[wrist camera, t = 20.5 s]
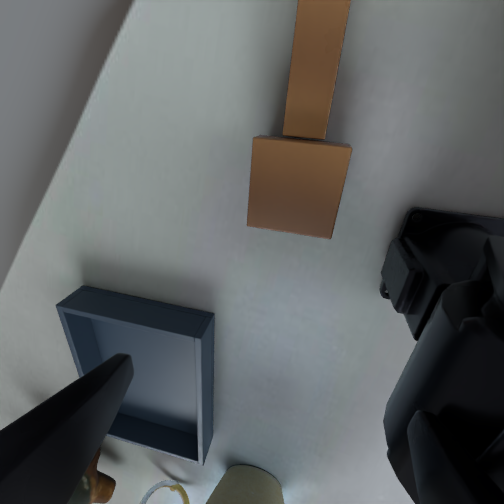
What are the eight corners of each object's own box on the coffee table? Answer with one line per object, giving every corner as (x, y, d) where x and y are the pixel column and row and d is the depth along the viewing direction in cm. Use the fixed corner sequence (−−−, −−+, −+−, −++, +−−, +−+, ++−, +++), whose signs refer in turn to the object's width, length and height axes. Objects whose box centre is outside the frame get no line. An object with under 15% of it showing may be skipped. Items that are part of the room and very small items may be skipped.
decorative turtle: (45, 406, 39) (-10, 471, 32) (138, 453, 41) (107, 523, 34) (30, 433, 43) (-21, 496, 36) (116, 474, 46) (83, 541, 39)
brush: (282, -58, 13) (270, -109, 10) (391, -59, 12) (414, -115, 9) (258, 208, 19) (246, 226, 16) (329, 218, 18) (331, 239, 15)
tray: (214, 313, 24) (201, 339, 21) (212, 437, 33) (203, 466, 30) (82, 285, 26) (55, 305, 23) (114, 408, 35) (97, 433, 32)
